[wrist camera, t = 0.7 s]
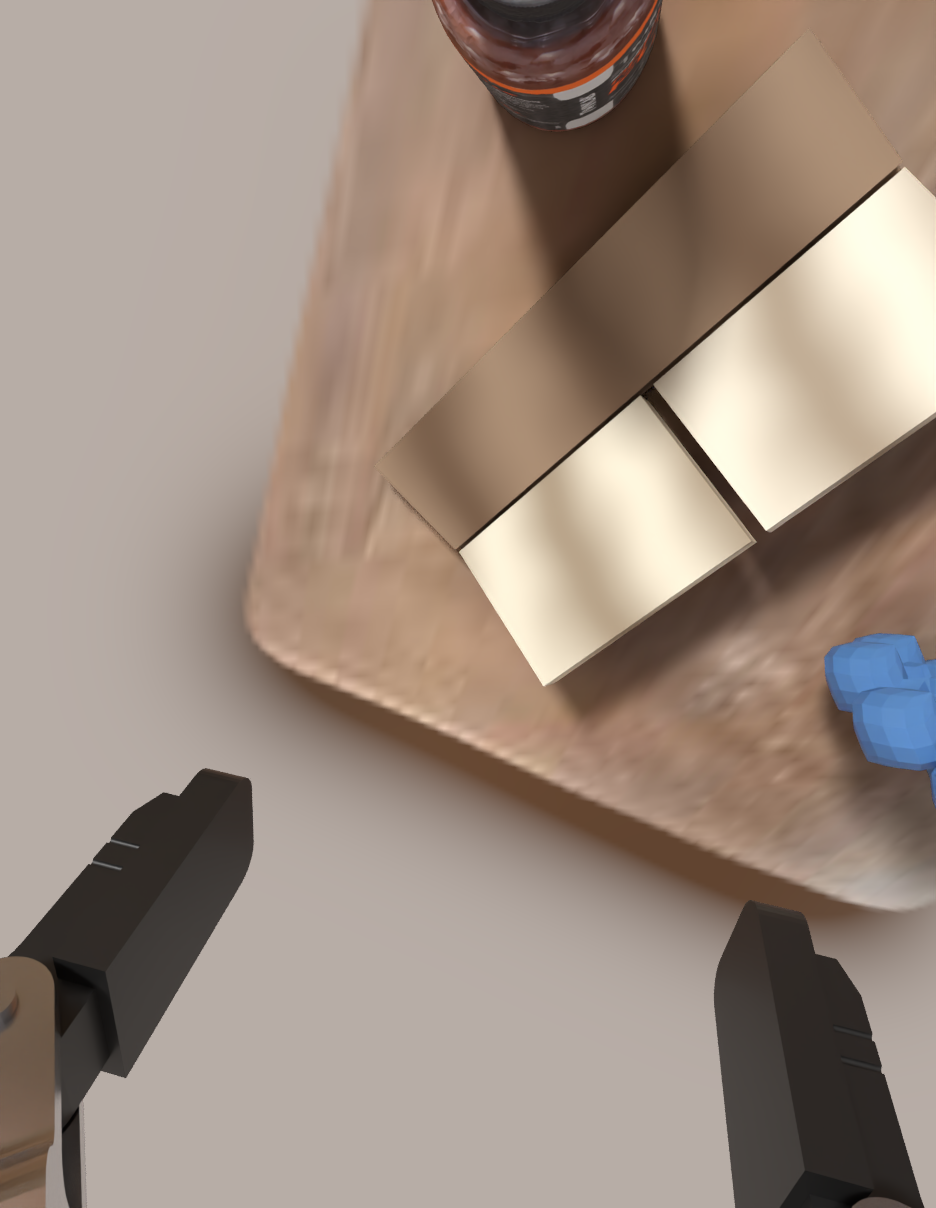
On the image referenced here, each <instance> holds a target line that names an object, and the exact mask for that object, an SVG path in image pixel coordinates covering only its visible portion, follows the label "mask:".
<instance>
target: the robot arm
mask: <svg viewBox="0 0 936 1208" xmlns="http://www.w3.org/2000/svg"><path fill="white" fill-rule="evenodd" d="M253 842H254V840H253V809H252V785H251V781H250V780H249V779H248V778H245V777H241V776H236V775H232V774H228V773H224V772H220V771H215V770H211V769H207V768H205V769H202V770H201V771H199V772H198V773H197V775H196V776H195V777H194V778H193V779H192V781H191V782H190V783H189V785H188V786H187V787H186V788H185V790H184V791H183V792H182V793H181V794H180V796H176V795H172V794H168V793H162V794H160V795H159V796H157V797H156V798H154V799H152V800H151V801H149V802H148V803H146V804H145V805H143V806H142V807H140V808H138V809H137V810H135V811H134V812H133V813H132V814H131V815H130V816H129V817H128V818H127V819H126V821H125V822H124V823H123V824H122V825H121V826H120V828H119V829H118V830H117V831H116V832H115V834H114V835H113V836H112V837H111V841H110V843H106V844H105V845H104V847H103V848H102V849H101V850H100V851H99V852H98V854H97V855H96V856H95V857H94V858H93V862H92V864H91V865H90V864H88V865H87V867H86V868H85V869H84V870H83V871H82V872H81V874H80V875H79V876H78V877H77V878H76V880H75V881H74V882H73V883H72V884H71V885H70V887H69V888H68V889H67V890H66V891H65V893H64V894H63V895H62V896H61V897H60V898H59V900H58V901H57V902H56V903H55V904H54V906H53V907H52V908H51V909H50V910H49V911H48V913H47V914H46V915H45V916H44V917H43V919H42V920H41V921H40V922H39V923H38V924H37V925H36V927H35V928H34V929H33V930H32V931H31V933H30V934H29V935H28V936H27V937H26V939H25V940H24V941H23V942H22V943H21V944H20V945H19V946H18V947H17V948H16V949H15V951H14V952H12V953H11V954H10V955H9V956H8V957H4V958H0V1208H87V1198H86V1168H85V1167H86V1165H85V1136H84V1135H85V1134H84V1105H83V1098H84V1097H85V1095H86V1093H87V1092H88V1090H89V1089H90V1087H91V1086H92V1084H93V1082H94V1081H95V1079H96V1078H97V1076H98V1074H99V1073H100V1071H104V1072H107V1073H111V1074H114V1075H117V1076H121V1077H124V1078H126V1077H127V1075H128V1074H129V1072H130V1070H131V1069H132V1067H133V1065H134V1063H135V1062H136V1060H137V1058H138V1057H139V1055H140V1053H141V1052H142V1050H143V1048H144V1046H145V1045H146V1043H147V1042H148V1040H149V1038H150V1037H151V1035H152V1033H153V1032H154V1030H155V1028H156V1026H157V1025H158V1023H159V1021H160V1020H161V1018H162V1016H163V1015H164V1013H165V1011H166V1010H167V1008H168V1006H169V1005H170V1003H171V1001H172V999H173V998H174V996H175V994H176V993H177V991H178V989H179V988H180V986H181V984H182V983H183V981H184V979H185V977H186V976H187V974H188V972H189V971H190V969H191V967H192V966H193V964H194V962H195V961H196V959H197V957H198V956H199V954H200V952H201V950H202V949H203V947H204V945H205V944H206V942H207V940H208V939H209V937H210V935H211V934H212V932H213V930H214V929H215V926H216V925H217V923H218V922H219V920H220V918H221V917H222V915H223V913H224V912H225V910H226V908H227V907H228V905H229V903H230V901H231V900H232V898H233V897H234V895H235V893H236V891H237V890H238V888H239V886H240V885H241V883H242V881H243V879H244V877H245V875H246V872H247V870H248V867H249V864H250V860H251V857H252V852H253ZM714 988H715V989H714V1007H715V1017H716V1026H717V1036H718V1045H719V1055H720V1064H721V1075H722V1083H723V1094H724V1102H725V1112H726V1123H727V1132H728V1142H729V1151H730V1160H731V1171H732V1179H733V1190H734V1199H735V1208H924V1205H923V1203H922V1200H921V1197H920V1194H919V1190H918V1187H917V1183H916V1180H915V1177H914V1174H913V1170H912V1166H911V1163H910V1160H909V1156H908V1153H907V1150H906V1146H905V1143H904V1140H903V1136H902V1133H901V1129H900V1126H899V1123H898V1119H897V1116H896V1112H895V1109H894V1106H893V1102H892V1099H891V1095H890V1092H889V1089H888V1085H887V1082H886V1078H885V1075H884V1074H882V1073H881V1067H882V1065H881V1062H880V1058H879V1055H878V1052H877V1048H876V1045H875V1042H874V1041H872V1031H871V1028H870V1024H869V1021H868V1018H867V1014H866V1011H865V1007H864V1004H863V1001H862V997H861V995H860V993H859V992H858V990H857V989H856V987H855V986H854V985H853V983H852V981H851V980H850V978H849V977H848V976H847V974H846V972H845V971H844V970H843V968H842V967H841V965H840V964H839V962H838V961H837V960H836V959H833V958H830V957H826V956H822V955H817V954H815V951H814V947H813V943H812V939H811V935H810V931H809V927H808V924H807V921H806V918H805V917H804V915H803V914H802V913H801V912H798V911H794V910H789V909H785V908H781V907H776V906H773V905H769V904H764V903H760V902H756V901H752V900H750V901H748V902H747V903H746V904H745V906H744V908H743V910H742V912H741V914H740V916H739V919H738V921H737V923H736V925H735V928H734V930H733V932H732V935H731V937H730V939H729V941H728V943H727V946H726V948H725V950H724V952H723V955H722V957H721V959H720V962H719V965H718V968H717V973H716V978H715V987H714Z"/></svg>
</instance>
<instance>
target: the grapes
mask: <svg viewBox="0 0 936 1208" xmlns="http://www.w3.org/2000/svg"><path fill="white" fill-rule="evenodd" d="M824 658H825V676H826V682H827V684H828V687H829V690H830V692H831V695H832V697H833V699H834V701H835V703H836V706H837V708H838V710H842V711H847V712H851V713H853V727H854V731H855V733H856V736H857V738H858V741H859V744H860V746H861V749H862V751H863V753H864V755H865V757H866V759H867V761H869V762H872V763H876V764H880V765H884V766H888V767H895V768H902V769H910V770H917V771H922V770H927V772H928V775H929V777H930V782H931V791H932V800H933V803H934V805H935V808H936V659H934V660H927V661H925V659H924V657H923V655H922V652H921V650H920V647H919V645H918V643H917V641H916V638H915V636H910V635H901V634H882V633H878V634H872V635H867V636H863V637H859V638H855V640H854V641H853V642H851V643H846V644H842V645H838V646H834V647H832V648H831V649H830V651H829V652H828V653H827V655H826V656H825V657H824Z"/></svg>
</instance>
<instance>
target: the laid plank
mask: <svg viewBox="0 0 936 1208" xmlns="http://www.w3.org/2000/svg"><path fill="white" fill-rule="evenodd" d="M902 162H903V161H902V159H901V158H900V156H899V155H898V153H897V152H896V151H895V149H894V148H893V146H892V145H891V143H890V142H889V140H888V139H887V138H886V136H885V135H884V133H883V132H882V130H881V129H880V128H879V126H878V125H877V123H876V122H875V120H874V119H873V117H872V116H871V115H870V113H869V112H868V110H867V109H866V107H865V106H864V104H863V103H862V102H861V100H860V99H859V97H858V96H857V94H856V93H855V91H854V90H853V89H852V87H851V86H850V84H849V83H848V81H847V80H846V79H845V77H844V76H843V74H842V73H841V71H840V70H839V68H838V67H837V66H836V64H835V63H834V61H833V60H832V58H831V57H830V55H829V54H828V53H827V51H826V50H825V48H824V47H823V45H822V44H821V42H820V41H819V40H818V38H817V37H816V35H815V34H814V32H813V31H812V30H811V28H809V29H808V30H807V31H806V32H805V33H804V34H803V35H802V36H801V37H800V38H799V39H798V40H797V41H796V42H795V43H794V44H793V45H792V46H791V47H790V48H789V49H788V50H787V51H786V52H785V53H784V54H783V55H782V56H781V57H780V58H779V59H778V60H777V61H776V62H775V63H774V64H773V65H772V66H771V67H770V68H769V69H768V70H767V71H766V72H765V73H764V74H763V75H762V76H761V77H760V78H759V79H758V80H757V81H756V82H755V83H754V84H753V85H752V86H751V87H750V88H749V89H748V90H747V91H746V92H745V93H744V94H743V95H742V96H741V97H740V98H739V99H738V100H737V101H736V102H735V103H734V104H733V105H732V106H731V107H730V108H729V109H728V110H727V111H726V112H725V113H724V114H723V115H722V116H721V117H720V118H719V119H718V120H717V121H716V122H715V123H714V124H713V125H712V126H711V127H710V128H709V129H708V130H707V131H706V132H705V133H704V134H703V135H702V136H701V137H700V138H699V139H698V140H697V142H696V143H695V144H694V145H693V146H692V147H691V148H690V149H689V150H688V151H687V152H686V153H685V154H684V155H683V156H682V157H681V158H680V159H679V160H678V161H677V162H676V163H675V164H674V165H673V166H672V167H671V168H670V169H669V170H668V171H667V172H666V173H665V174H664V175H663V176H662V177H661V178H660V179H659V180H658V181H657V182H656V183H655V184H654V185H653V186H652V187H651V188H650V189H649V190H648V191H647V192H646V193H645V194H644V195H643V196H642V197H641V198H640V199H639V200H638V201H637V202H636V203H635V204H634V205H633V206H632V207H631V208H630V209H629V210H628V211H627V212H626V213H625V214H624V215H623V216H622V217H621V218H620V219H619V220H618V221H617V222H616V223H615V224H614V225H613V226H612V227H611V228H610V229H609V230H608V231H607V232H606V233H605V234H604V235H603V236H602V237H601V238H600V239H599V240H598V241H597V242H596V243H595V244H594V245H593V246H592V247H591V248H590V249H589V250H588V251H587V252H586V253H585V254H584V255H583V256H582V257H581V258H580V259H579V260H578V261H577V262H576V263H575V264H574V265H573V266H572V267H571V268H570V269H569V270H568V272H567V273H566V274H565V275H564V276H563V277H562V278H561V279H560V280H559V281H558V282H557V283H556V284H555V285H554V286H553V287H552V288H551V289H550V290H549V291H548V292H547V293H546V294H545V295H544V296H543V297H542V298H541V299H540V300H539V301H538V302H537V303H536V304H535V305H534V306H533V307H532V308H531V309H530V310H529V311H528V312H527V313H526V314H525V315H524V316H523V317H522V318H521V319H520V320H519V321H518V322H517V323H516V324H515V325H514V326H513V327H512V328H511V329H510V330H509V331H508V332H507V333H506V334H505V335H504V336H503V337H502V338H501V339H500V340H499V341H498V342H497V343H496V344H495V345H494V346H493V347H492V348H491V349H490V350H489V351H488V352H487V353H486V354H485V355H484V356H483V357H482V358H481V359H480V360H479V361H478V362H477V363H476V364H475V365H474V366H473V367H472V368H471V369H470V370H469V371H468V372H467V373H466V374H465V375H464V376H463V377H462V378H461V379H460V380H459V381H458V382H457V383H456V384H455V385H454V386H453V387H452V388H451V389H450V390H449V391H448V392H447V393H446V394H445V395H444V396H443V397H442V398H441V399H440V401H439V402H438V403H437V404H436V405H435V406H434V407H433V408H432V409H431V410H430V411H429V412H428V413H427V414H426V415H425V416H424V417H423V418H422V419H421V420H420V421H419V422H418V423H417V424H416V425H415V426H414V427H413V428H412V429H411V430H410V431H409V432H408V433H407V434H406V435H405V436H404V437H403V438H402V439H401V440H400V441H399V442H398V443H397V444H396V445H395V446H394V447H393V448H392V449H391V450H390V451H389V452H388V453H387V454H386V455H385V456H384V457H383V458H382V459H381V460H380V461H379V462H378V463H377V464H376V465H375V466H374V467H375V469H376V470H377V471H378V472H379V473H380V474H381V475H382V476H383V477H384V478H385V479H386V480H387V481H388V482H389V483H390V484H391V485H392V486H393V487H394V488H395V489H396V490H397V491H398V492H399V493H400V494H401V495H402V496H403V497H404V498H405V499H406V500H407V501H408V502H409V503H410V504H411V505H412V506H413V507H414V508H415V509H416V510H417V511H418V512H419V513H420V514H421V516H422V517H423V518H424V519H425V520H426V521H427V522H428V523H429V524H430V525H431V526H432V527H433V528H434V529H435V530H436V531H437V532H438V533H439V534H440V535H441V536H442V537H443V538H444V539H445V540H446V541H447V542H448V543H449V544H450V545H451V546H452V547H453V548H454V549H455V550H456V549H457V548H458V547H460V548H461V549H463V548H464V547H465V546H466V545H468V544H469V543H470V542H471V541H472V540H473V539H475V538H476V537H477V536H478V535H479V534H480V533H481V532H483V531H484V530H485V529H486V528H487V527H488V526H490V525H491V524H492V523H493V522H494V521H495V520H497V519H498V518H499V517H500V516H501V515H502V514H503V513H505V512H506V511H507V510H508V509H509V508H510V507H512V506H513V505H514V504H515V503H516V502H517V501H519V500H520V499H521V498H522V497H523V496H524V495H526V494H527V493H528V492H529V491H530V490H531V489H532V488H534V487H535V486H536V485H537V484H538V483H539V482H541V481H542V480H543V479H544V478H545V477H546V476H548V475H549V474H550V473H551V472H552V471H553V470H554V469H556V468H557V467H558V466H559V465H560V464H561V463H563V462H564V461H565V460H566V459H567V458H568V457H570V456H571V455H572V454H573V453H574V452H575V451H576V450H578V449H579V448H580V447H581V446H582V445H583V444H585V443H586V442H587V441H588V440H589V439H590V438H592V437H593V436H594V435H595V434H596V433H597V432H598V431H600V430H601V429H602V428H603V427H604V426H605V425H607V424H608V423H609V422H610V421H611V420H612V419H614V418H615V417H616V416H617V415H618V414H619V413H620V412H622V411H623V410H624V409H625V408H626V407H627V406H629V405H630V404H631V403H632V402H633V401H634V400H636V399H637V398H638V397H639V396H640V395H642V394H644V393H645V392H646V391H647V390H648V389H649V388H651V387H652V386H653V384H654V383H655V382H656V381H658V380H659V379H660V378H661V377H662V376H663V375H665V374H666V373H667V372H668V371H669V370H670V369H671V368H673V367H674V366H675V365H676V364H677V363H678V362H680V361H681V360H682V359H683V358H684V357H685V356H687V355H688V354H689V353H690V352H691V351H692V350H693V349H695V348H696V347H697V346H698V345H699V344H700V343H702V342H703V341H704V340H705V339H706V338H707V337H709V336H710V335H711V334H712V333H713V332H714V331H715V330H717V329H718V328H719V327H720V326H721V325H722V324H724V323H725V322H726V321H727V320H728V319H729V318H731V317H732V316H733V315H734V314H735V313H736V312H737V311H739V310H740V309H741V308H742V307H743V306H744V305H746V304H747V303H748V302H749V301H750V300H751V299H753V298H754V297H755V296H756V295H757V294H758V293H759V292H761V291H762V290H763V289H764V288H765V287H766V286H768V285H769V284H770V283H771V282H772V281H773V280H775V279H776V278H777V277H778V276H779V275H780V274H782V273H783V272H784V271H785V270H786V269H787V268H788V267H790V266H791V265H792V264H793V263H794V262H795V261H797V260H798V259H799V258H800V257H801V256H802V255H804V254H805V253H806V252H807V251H808V250H809V249H810V248H812V247H813V246H814V245H815V244H816V243H817V242H819V241H820V240H821V239H822V238H823V237H824V236H826V235H827V234H828V233H829V232H830V231H831V230H832V229H834V228H835V227H836V226H837V225H838V224H839V223H841V222H842V221H843V220H844V219H845V218H846V217H848V216H849V215H850V214H851V213H852V212H853V211H854V210H856V209H857V208H858V207H859V206H860V205H861V204H863V203H864V202H865V201H866V200H867V199H868V198H870V197H871V196H872V195H873V194H874V193H875V192H876V191H878V190H879V189H880V188H881V187H882V186H883V185H885V184H886V183H887V182H888V181H889V180H890V179H892V178H893V177H894V176H895V175H896V174H897V173H898V172H900V171H901V168H900V167H899V166H898V165H900V164H901V163H902Z"/></svg>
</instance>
